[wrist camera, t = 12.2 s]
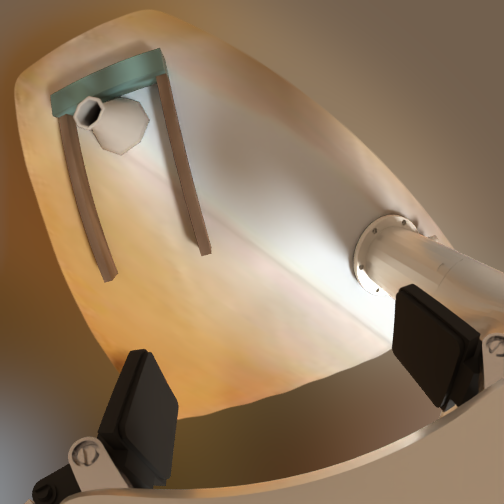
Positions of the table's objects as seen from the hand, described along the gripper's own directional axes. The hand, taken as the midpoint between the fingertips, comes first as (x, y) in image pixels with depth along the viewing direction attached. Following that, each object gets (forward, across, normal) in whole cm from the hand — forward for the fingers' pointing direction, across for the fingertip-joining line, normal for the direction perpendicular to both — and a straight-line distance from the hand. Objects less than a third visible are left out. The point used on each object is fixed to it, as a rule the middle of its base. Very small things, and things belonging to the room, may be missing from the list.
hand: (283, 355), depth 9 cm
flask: (+25, +12, -15) cm, 32 cm away
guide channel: (+25, +12, -10) cm, 30 cm away
